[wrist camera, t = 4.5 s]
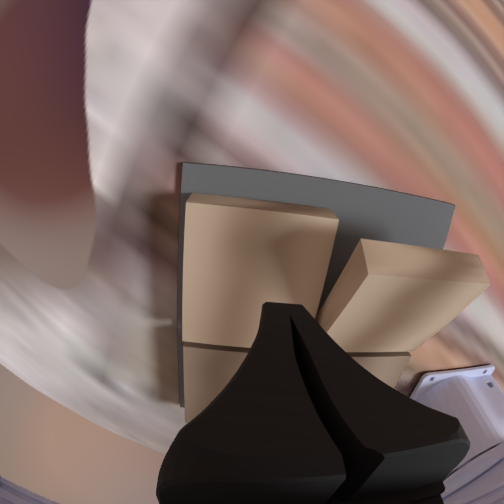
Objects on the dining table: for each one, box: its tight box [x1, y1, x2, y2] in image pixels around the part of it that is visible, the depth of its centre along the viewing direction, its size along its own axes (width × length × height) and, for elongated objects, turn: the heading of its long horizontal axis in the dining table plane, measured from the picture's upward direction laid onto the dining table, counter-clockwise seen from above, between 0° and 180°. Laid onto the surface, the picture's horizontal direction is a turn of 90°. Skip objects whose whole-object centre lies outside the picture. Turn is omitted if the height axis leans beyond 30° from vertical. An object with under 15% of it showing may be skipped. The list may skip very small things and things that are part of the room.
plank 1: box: [182, 193, 339, 348], centre depth 17 cm, size 7×8×2 cm
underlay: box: [177, 162, 455, 408], centre depth 20 cm, size 16×18×1 cm
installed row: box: [183, 341, 411, 422], centre depth 20 cm, size 15×8×2 cm, turn 83°
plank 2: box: [315, 239, 490, 352], centre depth 16 cm, size 7×8×2 cm
